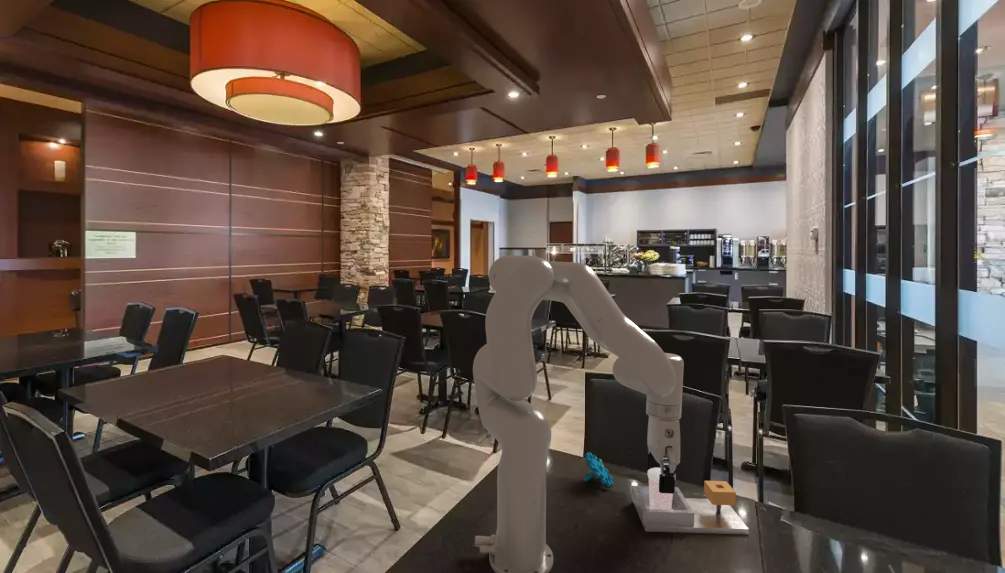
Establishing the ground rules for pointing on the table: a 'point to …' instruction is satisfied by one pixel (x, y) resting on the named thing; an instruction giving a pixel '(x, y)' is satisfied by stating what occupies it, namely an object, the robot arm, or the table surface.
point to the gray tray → (687, 515)
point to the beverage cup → (655, 496)
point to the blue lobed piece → (597, 470)
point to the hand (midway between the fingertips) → (659, 481)
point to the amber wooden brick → (719, 493)
